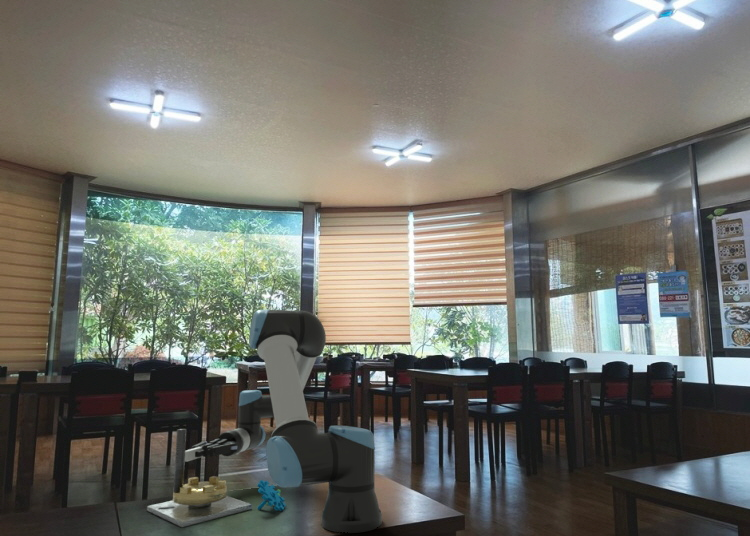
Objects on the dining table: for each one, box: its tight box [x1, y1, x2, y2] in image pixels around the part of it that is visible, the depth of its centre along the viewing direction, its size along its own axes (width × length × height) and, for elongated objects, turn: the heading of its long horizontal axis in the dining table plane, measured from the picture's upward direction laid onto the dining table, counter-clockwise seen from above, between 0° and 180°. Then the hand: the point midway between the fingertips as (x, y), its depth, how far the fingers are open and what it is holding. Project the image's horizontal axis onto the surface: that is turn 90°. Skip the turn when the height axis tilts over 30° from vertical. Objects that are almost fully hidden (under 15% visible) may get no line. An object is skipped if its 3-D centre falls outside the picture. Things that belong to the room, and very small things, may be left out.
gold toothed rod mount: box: [172, 428, 228, 505], centre depth 140 cm, size 14×14×18 cm
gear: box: [256, 479, 287, 512], centre depth 139 cm, size 11×6×10 cm
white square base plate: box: [146, 495, 253, 528], centre depth 138 cm, size 20×20×3 cm
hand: (185, 456), depth 142 cm, fingers closed
